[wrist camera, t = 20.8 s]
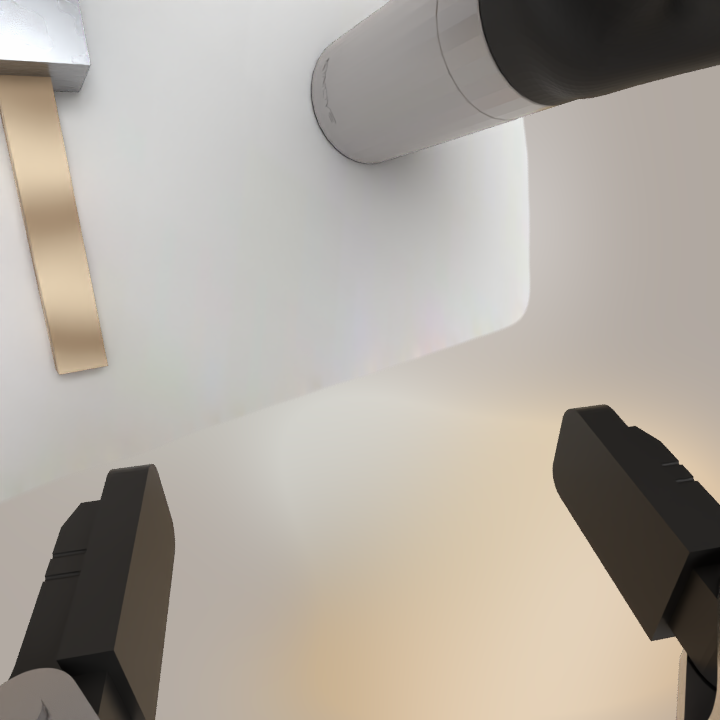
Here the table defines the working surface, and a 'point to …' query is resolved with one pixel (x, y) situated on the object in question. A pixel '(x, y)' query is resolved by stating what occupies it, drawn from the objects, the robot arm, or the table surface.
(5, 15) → the mallet
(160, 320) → the table surface
